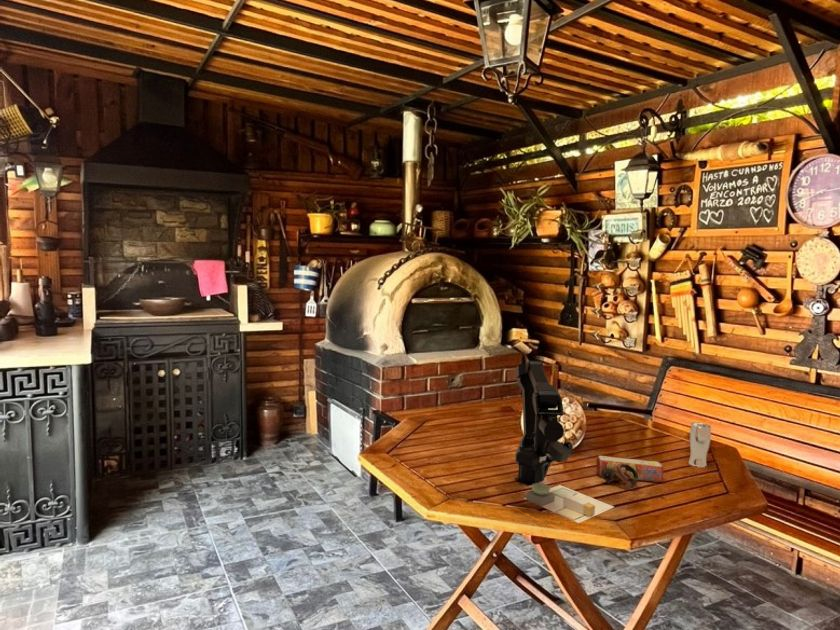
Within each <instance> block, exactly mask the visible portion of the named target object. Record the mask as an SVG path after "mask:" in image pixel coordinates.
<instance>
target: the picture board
mask: <svg viewBox="0 0 840 630" xmlns="http://www.w3.org/2000/svg"><path fill="white" fill-rule="evenodd" d="M550 492H551V493H554V494H555V498H554V502H552V503H549V504H547V505H544V506H540V507H541V508H543V509H546V510H548V511H551V512H552V513H555V514H558V515H560V516H561V517H564V518H566V519H568V520H570V521H572V522H575V523H577V524H581V523H582V522H584V521H588V520H589V519H591V518H593V517H595V516H596V517H597V516H598V515H601V514H602V513H604V512H607V511H609V510H611V509H613V508H614V505H611V504H608V503H607V502H604V501H600V500H598V499H596V498H593V497H591V496H588V495H586V494H585V493H582V492H579V491H576V490H573V489H571V488H568V487H566V486H563V485H561V484H559V485H555V486H554V487H551V488H550ZM568 494H571V495H573V496H576V497H578V498H581V499H583V500H586V501H588V502H590V504H593V505H595V514H593V515H591V516H587V515H585V514H580V513H578V512H576V511H573V510H571V509H569V508H566V507H564V506H563V496H566V495H568ZM523 499H524V500H526V497H523Z"/></svg>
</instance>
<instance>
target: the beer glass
mask: <svg viewBox="0 0 840 630" xmlns="http://www.w3.org/2000/svg"><path fill="white" fill-rule="evenodd" d="M711 436H712V426H711V425H710V424H708V423H704V422H692V423H691V425H690V431H689V447H690V448H689V449H690V457H689V460H688V464H689V465H690V466H692V467H695V466H697V467H696V468H706V467H707V464H708V463H707V455H708V451H709V449H710V444H711V438H712V437H711ZM705 466H706V467H705Z"/></svg>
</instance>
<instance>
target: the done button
mask: <svg viewBox="0 0 840 630" xmlns="http://www.w3.org/2000/svg"><path fill="white" fill-rule="evenodd" d="M550 487H551V486H549V485H548V484H547V483H542V482H538V483H534V484H532V486H531V490H532V491H533V492H534V493H536V494H538V495H541V496H542V495H545V494H549V492H550Z"/></svg>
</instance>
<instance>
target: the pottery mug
mask: <svg viewBox="0 0 840 630" xmlns="http://www.w3.org/2000/svg"><path fill="white" fill-rule="evenodd" d="M622 467H625V470H626V471H629V472H632V473H633V477H634V478H635V479H630V480H629V479H628V477H627V476H626V475H624V473H623V472H622V471H621V468H622ZM615 472H616V473H617V474H616V473H615ZM606 474H608V475H607V476H606ZM601 476H602V477H601V478H602V480H604V481H605V482H606V484H608V485H609V484H611V482H612V480H614V481H618V479H620V480H621V481H622V482H623V483H625V485H624V487H623V489H624V490H626V491H629V490H631V489H634V488H635V487H636V486H637V484H638V481H639V480H638V477H639V476H638V473H637V472H636V471H635V469H634V468H632V467H631V466H629V465H627V464H623V463H622V464H619V465H618V466H614V467H612V468H611V469H609V468H605V469H603V470H602V471H601ZM618 477H619V478H618Z"/></svg>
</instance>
